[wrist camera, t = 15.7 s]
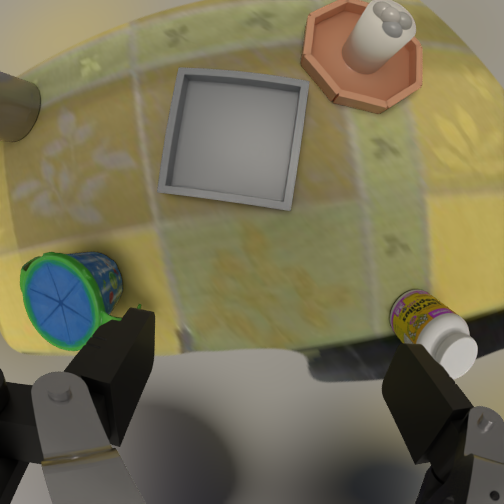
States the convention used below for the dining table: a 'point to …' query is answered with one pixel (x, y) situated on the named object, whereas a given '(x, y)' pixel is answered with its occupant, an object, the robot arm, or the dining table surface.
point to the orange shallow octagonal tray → (343, 77)
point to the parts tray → (234, 137)
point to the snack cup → (70, 295)
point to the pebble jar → (378, 36)
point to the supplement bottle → (434, 331)
